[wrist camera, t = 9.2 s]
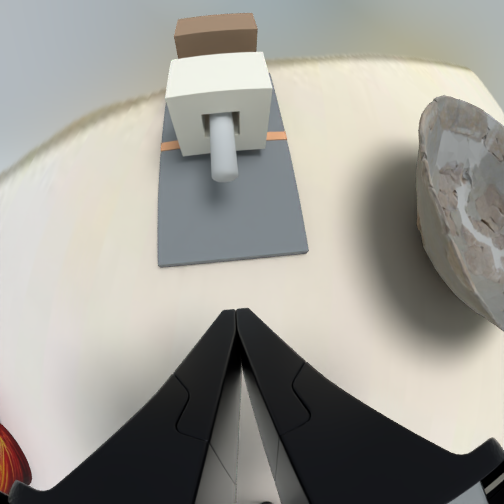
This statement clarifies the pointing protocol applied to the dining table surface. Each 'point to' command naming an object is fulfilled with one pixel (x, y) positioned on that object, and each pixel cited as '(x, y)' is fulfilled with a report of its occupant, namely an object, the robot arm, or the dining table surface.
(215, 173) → the rod stand
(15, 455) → the mug
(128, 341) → the dining table surface
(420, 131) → the ceramic bowl
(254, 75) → the sleeve
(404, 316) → the dining table surface
